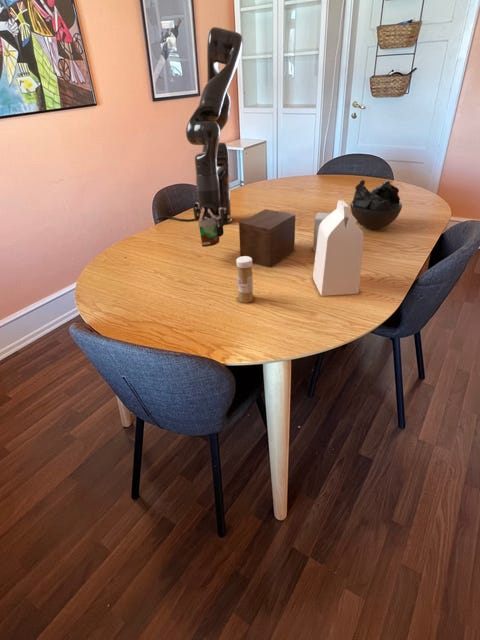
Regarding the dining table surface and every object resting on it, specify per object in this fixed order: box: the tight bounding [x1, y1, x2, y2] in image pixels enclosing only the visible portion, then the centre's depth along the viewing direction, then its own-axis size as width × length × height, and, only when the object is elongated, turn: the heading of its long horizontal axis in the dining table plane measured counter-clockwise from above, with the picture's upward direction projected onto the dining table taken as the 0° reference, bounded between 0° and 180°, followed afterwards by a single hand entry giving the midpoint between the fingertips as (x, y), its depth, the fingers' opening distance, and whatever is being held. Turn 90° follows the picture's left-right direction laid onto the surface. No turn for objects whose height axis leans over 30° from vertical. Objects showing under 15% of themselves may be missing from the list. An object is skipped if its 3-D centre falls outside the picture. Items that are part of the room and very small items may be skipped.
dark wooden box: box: [238, 208, 296, 268], centre depth 139 cm, size 13×17×14 cm
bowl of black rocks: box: [350, 179, 403, 230], centre depth 156 cm, size 20×20×19 cm
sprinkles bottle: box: [235, 256, 254, 303], centre depth 113 cm, size 5×5×13 cm
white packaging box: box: [312, 212, 332, 252], centre depth 142 cm, size 7×7×13 cm
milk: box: [312, 199, 365, 297], centre depth 114 cm, size 12×12×26 cm
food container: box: [197, 215, 220, 248], centre depth 136 cm, size 12×6×10 cm, turn 168°
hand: (212, 233), depth 137 cm, fingers closed on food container, 7 cm apart
